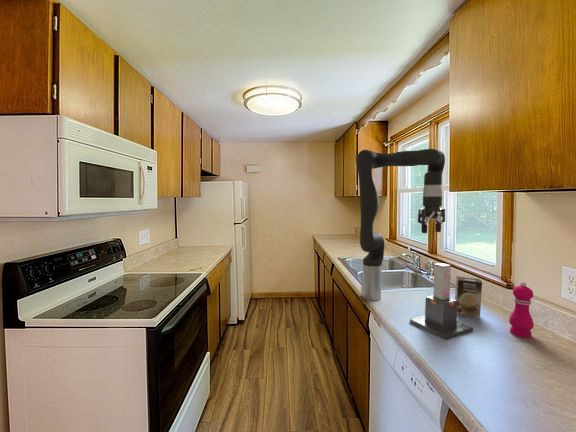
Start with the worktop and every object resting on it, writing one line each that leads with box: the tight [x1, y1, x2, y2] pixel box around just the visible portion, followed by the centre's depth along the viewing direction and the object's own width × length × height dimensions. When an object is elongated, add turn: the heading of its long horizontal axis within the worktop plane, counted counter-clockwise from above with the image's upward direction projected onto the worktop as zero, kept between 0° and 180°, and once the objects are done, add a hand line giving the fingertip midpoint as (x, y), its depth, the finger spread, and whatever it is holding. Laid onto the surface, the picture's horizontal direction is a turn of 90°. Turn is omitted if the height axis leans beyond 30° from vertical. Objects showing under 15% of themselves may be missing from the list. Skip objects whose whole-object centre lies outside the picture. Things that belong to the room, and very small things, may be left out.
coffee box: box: [454, 276, 483, 320], centre depth 126 cm, size 9×6×16 cm
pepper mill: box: [508, 281, 535, 339], centre depth 109 cm, size 7×7×20 cm
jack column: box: [433, 262, 452, 301], centre depth 114 cm, size 4×4×18 cm
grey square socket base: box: [409, 294, 474, 341], centre depth 115 cm, size 16×16×12 cm
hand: (431, 232), depth 127 cm, fingers open, 8 cm apart
